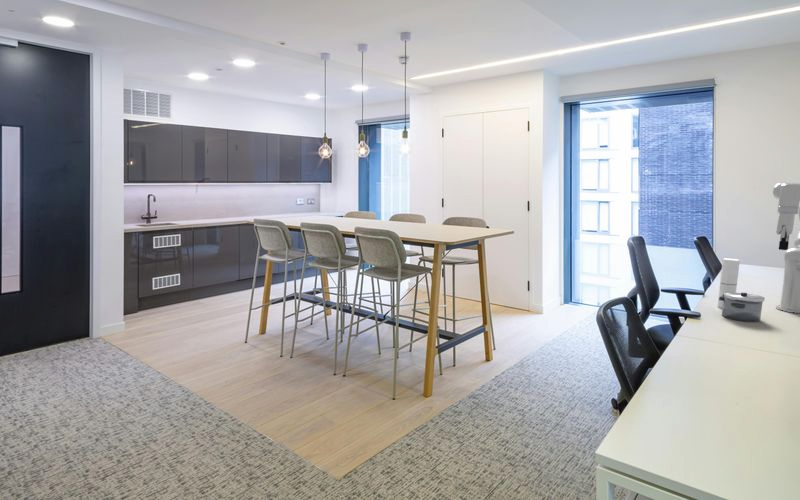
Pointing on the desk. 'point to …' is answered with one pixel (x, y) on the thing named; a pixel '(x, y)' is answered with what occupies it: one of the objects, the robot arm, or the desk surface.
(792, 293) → the robot arm
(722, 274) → the cylindrical container
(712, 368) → the desk surface
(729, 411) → the desk surface
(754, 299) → the lid
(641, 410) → the desk surface
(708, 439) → the desk surface
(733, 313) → the pot
